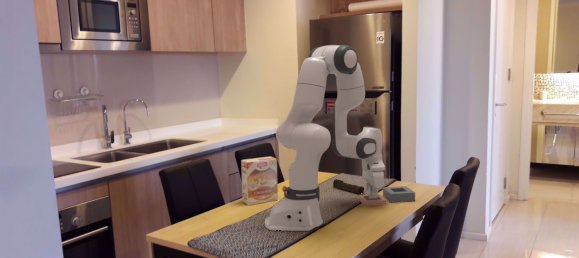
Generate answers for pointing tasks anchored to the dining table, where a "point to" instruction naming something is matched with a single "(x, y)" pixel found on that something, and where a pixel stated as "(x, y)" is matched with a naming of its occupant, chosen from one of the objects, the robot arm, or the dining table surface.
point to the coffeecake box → (259, 180)
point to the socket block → (398, 194)
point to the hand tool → (348, 186)
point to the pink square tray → (372, 202)
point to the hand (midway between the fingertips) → (372, 193)
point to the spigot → (369, 193)
